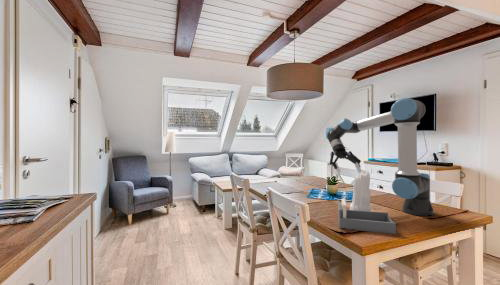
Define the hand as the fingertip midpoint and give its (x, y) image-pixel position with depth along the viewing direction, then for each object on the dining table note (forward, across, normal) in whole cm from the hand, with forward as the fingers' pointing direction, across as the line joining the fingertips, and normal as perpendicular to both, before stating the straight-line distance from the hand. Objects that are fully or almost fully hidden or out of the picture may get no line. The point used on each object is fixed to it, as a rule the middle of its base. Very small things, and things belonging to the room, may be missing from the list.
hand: (349, 172), depth 143 cm
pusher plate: (+31, +16, 0) cm, 35 cm away
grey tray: (+34, +7, +2) cm, 35 cm away
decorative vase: (+23, 0, -8) cm, 25 cm away
